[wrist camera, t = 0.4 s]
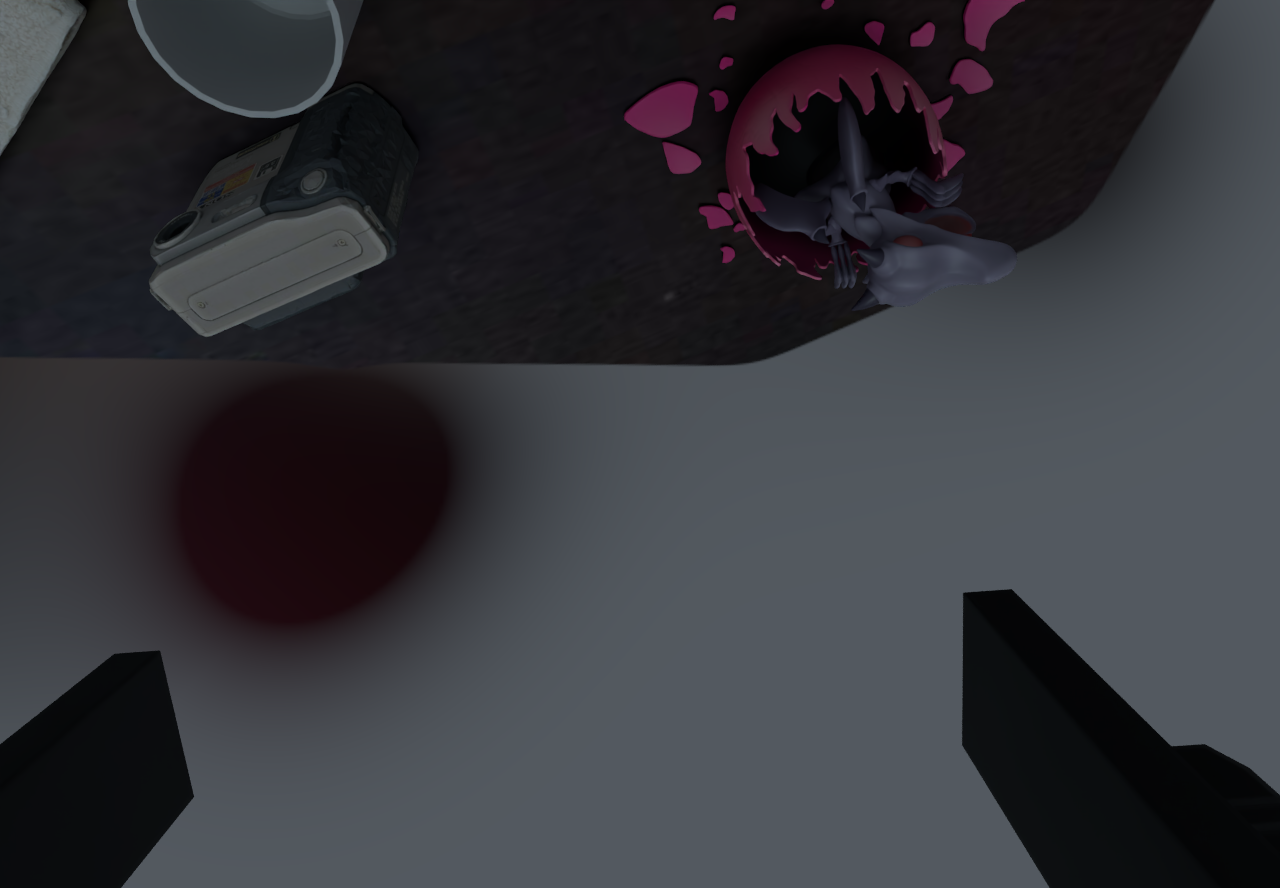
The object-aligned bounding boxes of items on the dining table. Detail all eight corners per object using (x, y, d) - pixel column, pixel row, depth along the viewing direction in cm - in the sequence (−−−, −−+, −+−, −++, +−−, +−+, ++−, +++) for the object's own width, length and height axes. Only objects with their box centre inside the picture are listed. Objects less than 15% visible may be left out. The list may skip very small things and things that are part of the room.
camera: (374, 65, 41) (342, 178, 35) (437, 165, 46) (419, 283, 39) (180, 154, 44) (115, 274, 37) (256, 241, 48) (210, 364, 41)
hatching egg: (789, 304, 54) (838, 467, 45) (577, 161, 46) (586, 328, 37) (1079, 47, 43) (1219, 196, 34) (869, -200, 35) (982, -89, 26)
